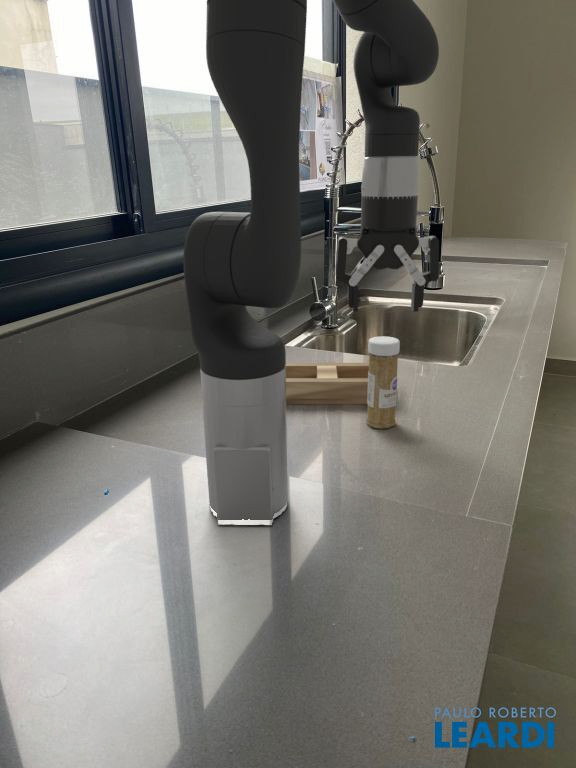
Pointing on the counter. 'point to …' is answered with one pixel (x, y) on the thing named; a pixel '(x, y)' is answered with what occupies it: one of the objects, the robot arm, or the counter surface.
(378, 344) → the sprinkles bottle
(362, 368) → the rack
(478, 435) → the counter surface
